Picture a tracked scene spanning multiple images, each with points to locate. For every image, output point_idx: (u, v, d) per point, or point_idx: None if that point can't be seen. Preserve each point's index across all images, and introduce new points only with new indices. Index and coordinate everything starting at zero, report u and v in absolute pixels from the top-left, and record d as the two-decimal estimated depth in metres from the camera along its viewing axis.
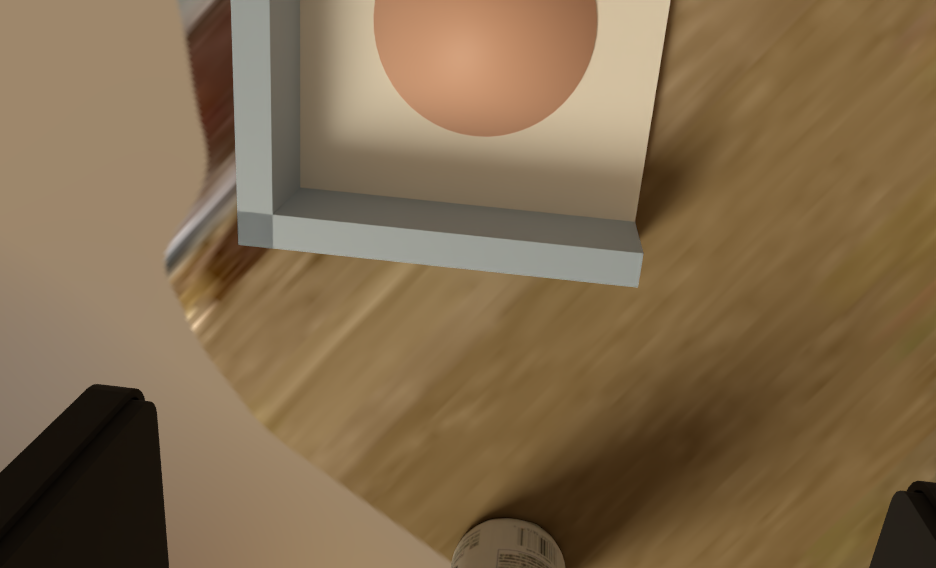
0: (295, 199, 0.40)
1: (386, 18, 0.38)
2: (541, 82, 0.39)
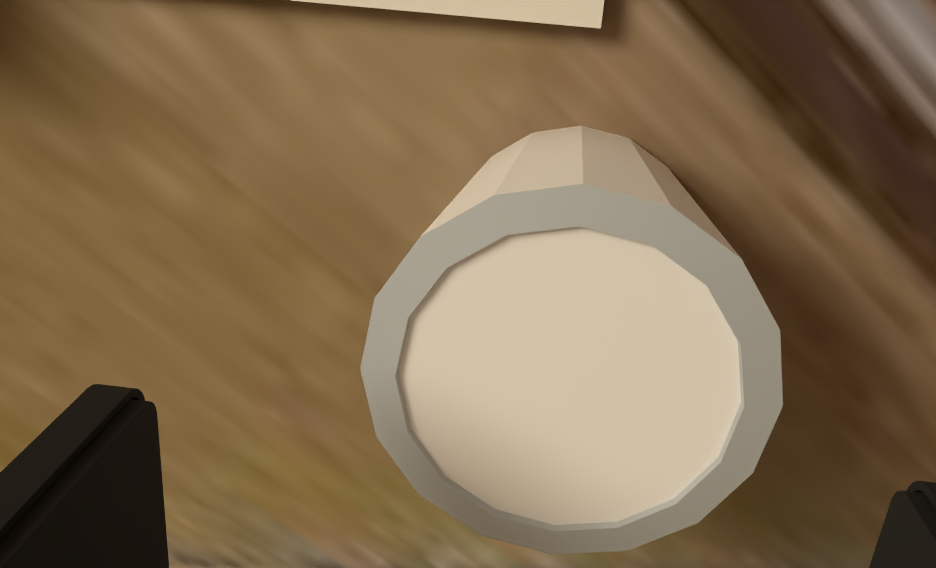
0: None
1: None
2: None
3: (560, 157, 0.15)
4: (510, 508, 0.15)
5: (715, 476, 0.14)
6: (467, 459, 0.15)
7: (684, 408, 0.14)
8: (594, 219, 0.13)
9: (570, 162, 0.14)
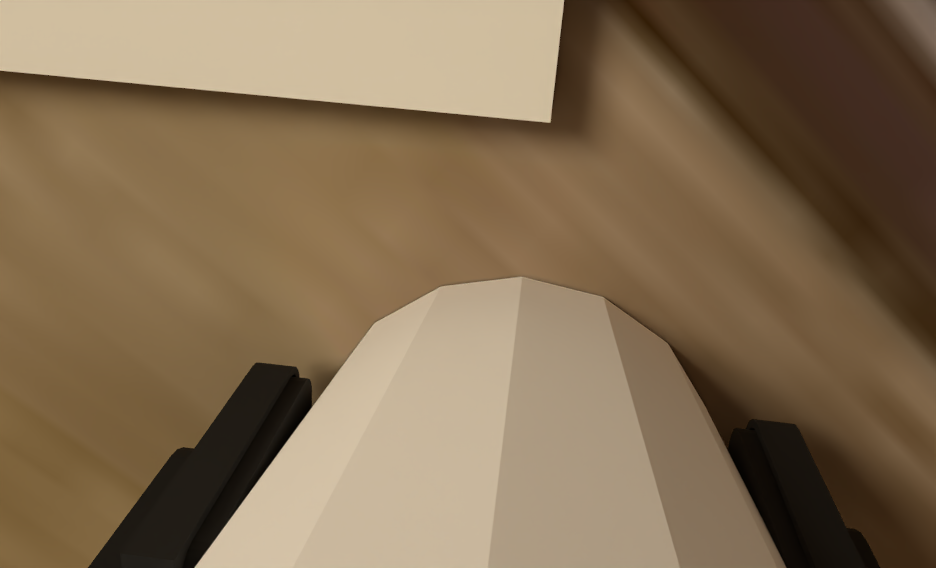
0: None
1: None
2: None
3: (461, 419, 0.07)
4: None
5: None
6: None
7: None
8: None
9: (474, 457, 0.07)
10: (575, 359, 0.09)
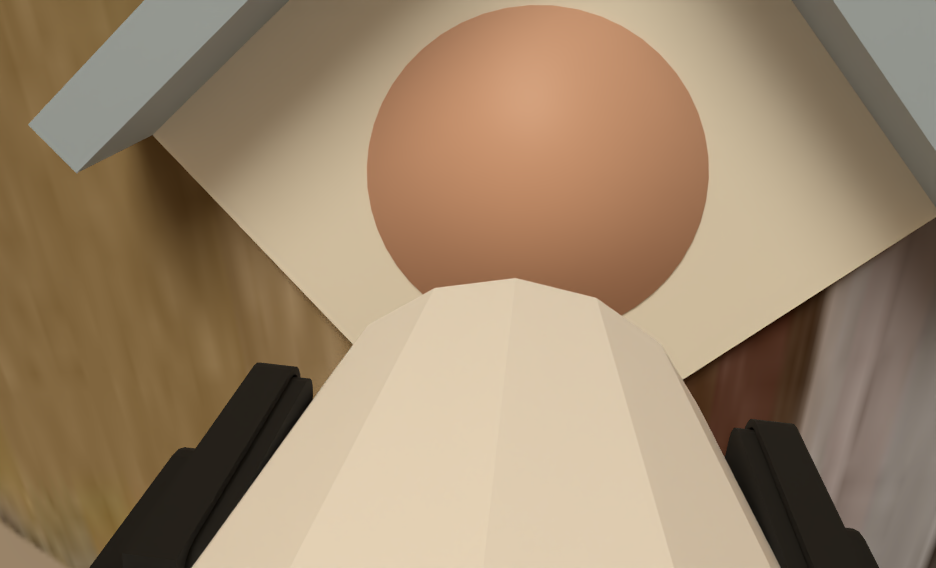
0: None
1: (656, 84, 0.24)
2: (413, 184, 0.25)
3: (455, 421, 0.07)
4: None
5: None
6: None
7: None
8: None
9: (469, 459, 0.07)
10: (569, 360, 0.09)
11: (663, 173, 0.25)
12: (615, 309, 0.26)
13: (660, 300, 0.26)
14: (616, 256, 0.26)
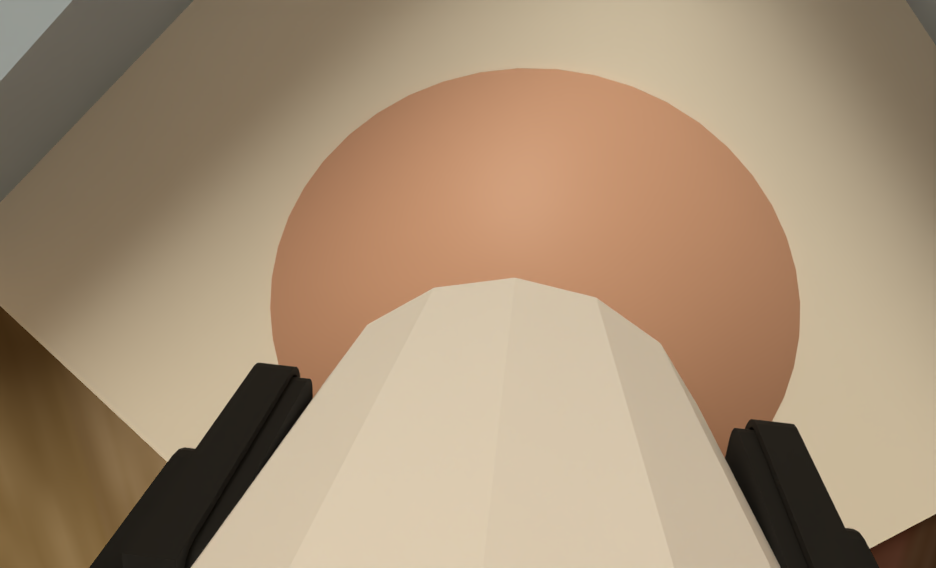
0: None
1: (720, 191, 0.15)
2: (341, 335, 0.17)
3: (455, 421, 0.07)
4: None
5: None
6: None
7: None
8: None
9: (469, 458, 0.07)
10: (569, 360, 0.09)
11: (727, 325, 0.16)
12: None
13: None
14: None
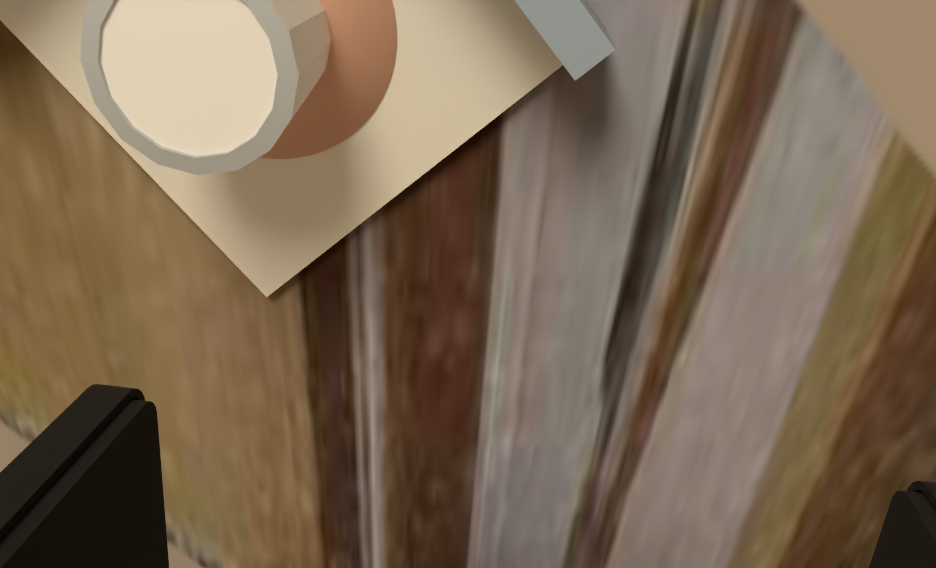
0: None
1: None
2: None
3: None
4: (171, 145, 0.27)
5: (272, 119, 0.26)
6: (144, 115, 0.27)
7: (250, 78, 0.26)
8: None
9: None
10: None
11: (362, 23, 0.32)
12: (338, 135, 0.34)
13: (372, 128, 0.33)
14: (334, 92, 0.33)
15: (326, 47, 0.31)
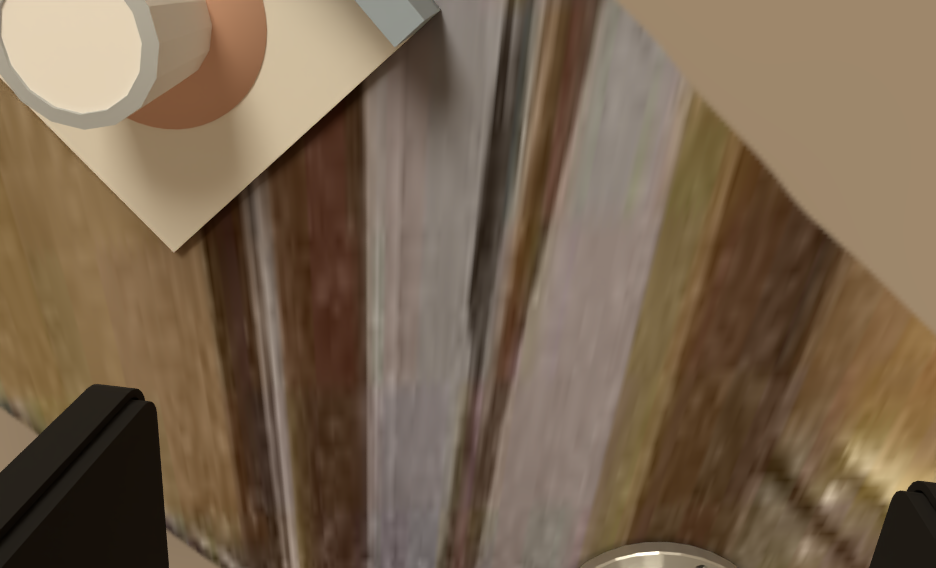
0: None
1: None
2: None
3: None
4: (60, 105, 0.33)
5: (140, 80, 0.32)
6: (38, 80, 0.33)
7: (121, 47, 0.32)
8: None
9: None
10: None
11: (237, 10, 0.38)
12: (223, 107, 0.40)
13: (251, 101, 0.39)
14: (218, 70, 0.39)
15: (204, 30, 0.37)
